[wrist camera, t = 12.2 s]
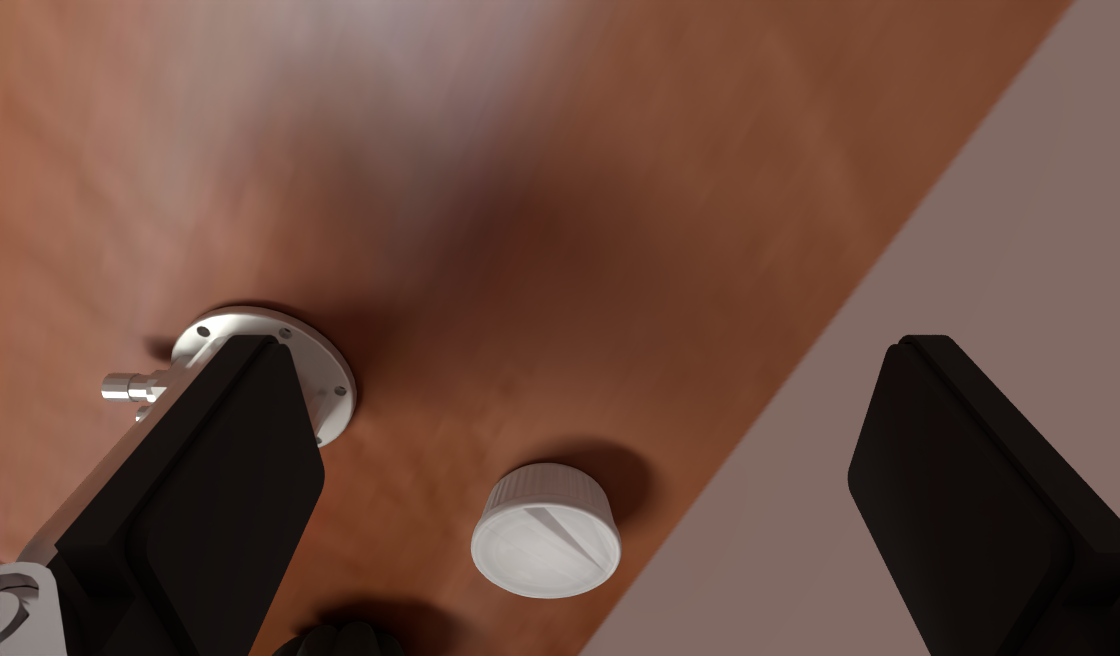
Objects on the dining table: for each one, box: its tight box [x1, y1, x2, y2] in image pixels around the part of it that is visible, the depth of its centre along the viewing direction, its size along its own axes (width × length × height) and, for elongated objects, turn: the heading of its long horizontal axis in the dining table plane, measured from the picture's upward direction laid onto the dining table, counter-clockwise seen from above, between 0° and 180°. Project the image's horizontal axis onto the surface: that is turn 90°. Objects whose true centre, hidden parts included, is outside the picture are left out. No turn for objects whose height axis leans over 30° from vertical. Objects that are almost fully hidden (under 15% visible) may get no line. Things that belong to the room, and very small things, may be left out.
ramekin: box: [471, 463, 621, 598], centre depth 49 cm, size 11×11×5 cm
